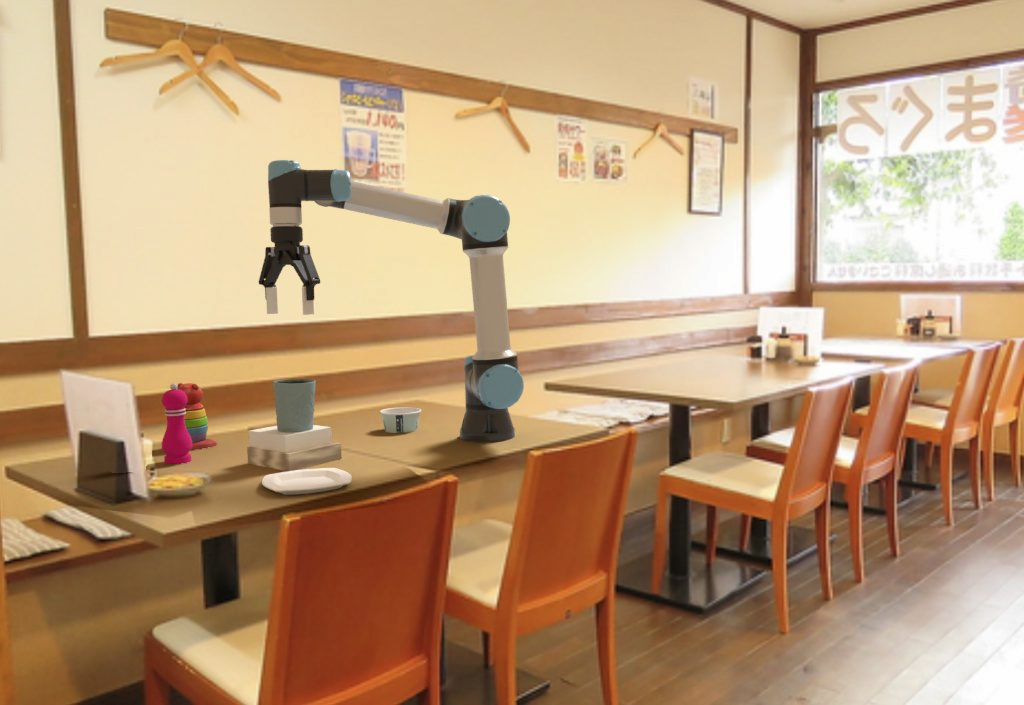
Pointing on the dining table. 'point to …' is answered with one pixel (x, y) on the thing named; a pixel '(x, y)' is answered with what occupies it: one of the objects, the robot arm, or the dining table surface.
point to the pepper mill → (176, 427)
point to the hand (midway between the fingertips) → (290, 314)
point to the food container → (400, 419)
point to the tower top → (289, 438)
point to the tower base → (294, 457)
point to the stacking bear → (196, 417)
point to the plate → (306, 480)
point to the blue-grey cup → (294, 404)
